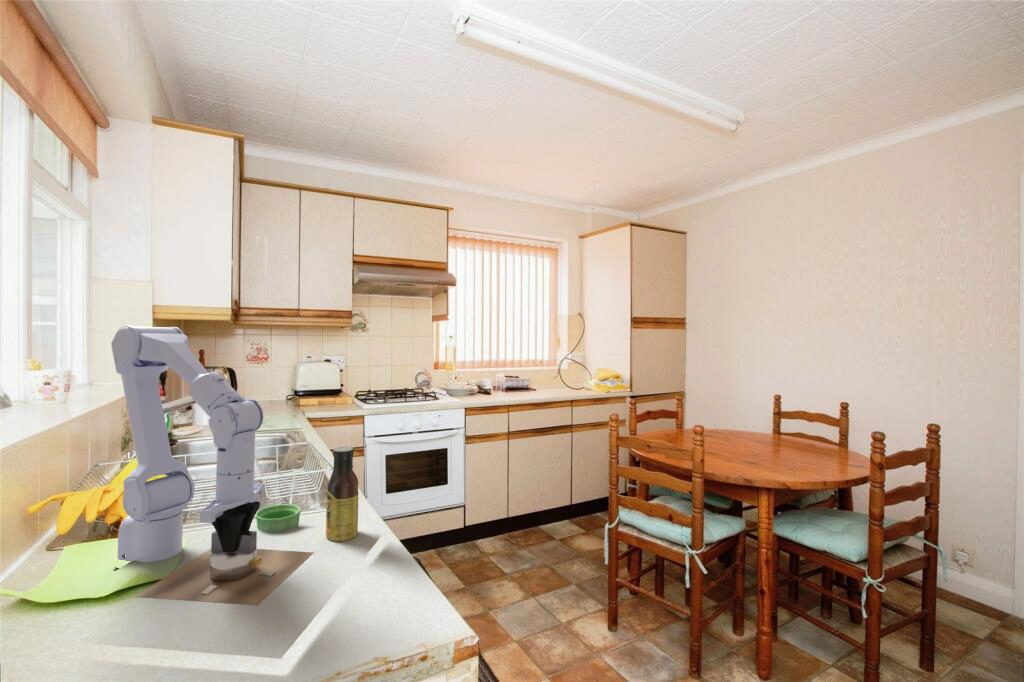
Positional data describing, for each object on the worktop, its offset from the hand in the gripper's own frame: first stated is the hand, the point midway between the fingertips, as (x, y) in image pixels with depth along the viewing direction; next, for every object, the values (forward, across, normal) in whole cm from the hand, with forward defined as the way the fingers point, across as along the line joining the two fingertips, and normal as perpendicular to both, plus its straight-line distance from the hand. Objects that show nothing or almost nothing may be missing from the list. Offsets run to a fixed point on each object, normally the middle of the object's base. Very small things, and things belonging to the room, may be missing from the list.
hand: (234, 548), depth 83 cm
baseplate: (+6, 0, 0) cm, 6 cm away
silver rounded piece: (+4, 0, 0) cm, 4 cm away
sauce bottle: (+6, +17, -12) cm, 22 cm away
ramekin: (+6, +21, +4) cm, 22 cm away
